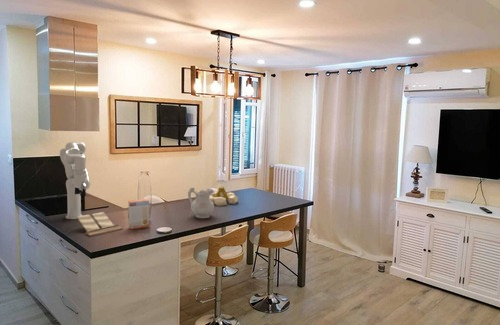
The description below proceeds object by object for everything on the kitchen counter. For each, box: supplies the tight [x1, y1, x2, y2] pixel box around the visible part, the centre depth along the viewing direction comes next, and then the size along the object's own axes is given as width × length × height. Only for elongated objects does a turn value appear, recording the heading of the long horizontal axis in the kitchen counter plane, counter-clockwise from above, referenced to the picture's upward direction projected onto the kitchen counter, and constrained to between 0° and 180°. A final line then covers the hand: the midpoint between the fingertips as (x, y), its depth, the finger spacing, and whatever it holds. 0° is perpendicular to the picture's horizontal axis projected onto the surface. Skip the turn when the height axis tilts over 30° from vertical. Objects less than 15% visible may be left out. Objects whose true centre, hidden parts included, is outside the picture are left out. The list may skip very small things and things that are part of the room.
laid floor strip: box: [85, 224, 124, 237], centre depth 262 cm, size 7×24×2 cm, turn 140°
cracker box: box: [128, 198, 150, 230], centre depth 274 cm, size 14×6×21 cm, turn 121°
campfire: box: [209, 185, 239, 207], centre depth 367 cm, size 35×34×17 cm
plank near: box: [76, 214, 101, 232], centre depth 266 cm, size 18×9×1 cm, turn 50°
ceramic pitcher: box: [187, 187, 215, 219], centre depth 310 cm, size 22×20×25 cm
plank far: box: [91, 211, 115, 229], centre depth 274 cm, size 18×9×1 cm, turn 50°
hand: (80, 195), depth 272 cm, fingers open, 9 cm apart
